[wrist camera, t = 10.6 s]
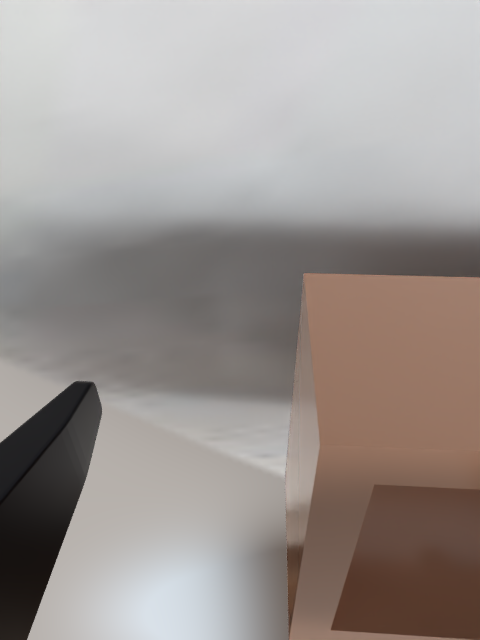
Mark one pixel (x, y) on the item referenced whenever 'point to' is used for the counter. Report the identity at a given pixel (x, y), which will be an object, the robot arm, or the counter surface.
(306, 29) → the counter surface
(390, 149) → the counter surface
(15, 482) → the robot arm
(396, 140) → the counter surface
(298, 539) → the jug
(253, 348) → the counter surface
